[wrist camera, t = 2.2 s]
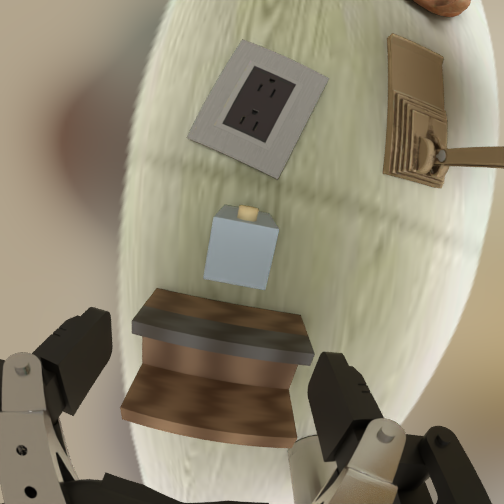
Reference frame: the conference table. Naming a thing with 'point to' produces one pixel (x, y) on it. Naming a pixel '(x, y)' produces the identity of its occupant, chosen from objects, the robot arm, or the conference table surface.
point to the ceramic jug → (444, 6)
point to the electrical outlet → (258, 108)
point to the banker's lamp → (423, 119)
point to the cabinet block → (241, 247)
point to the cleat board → (216, 370)
